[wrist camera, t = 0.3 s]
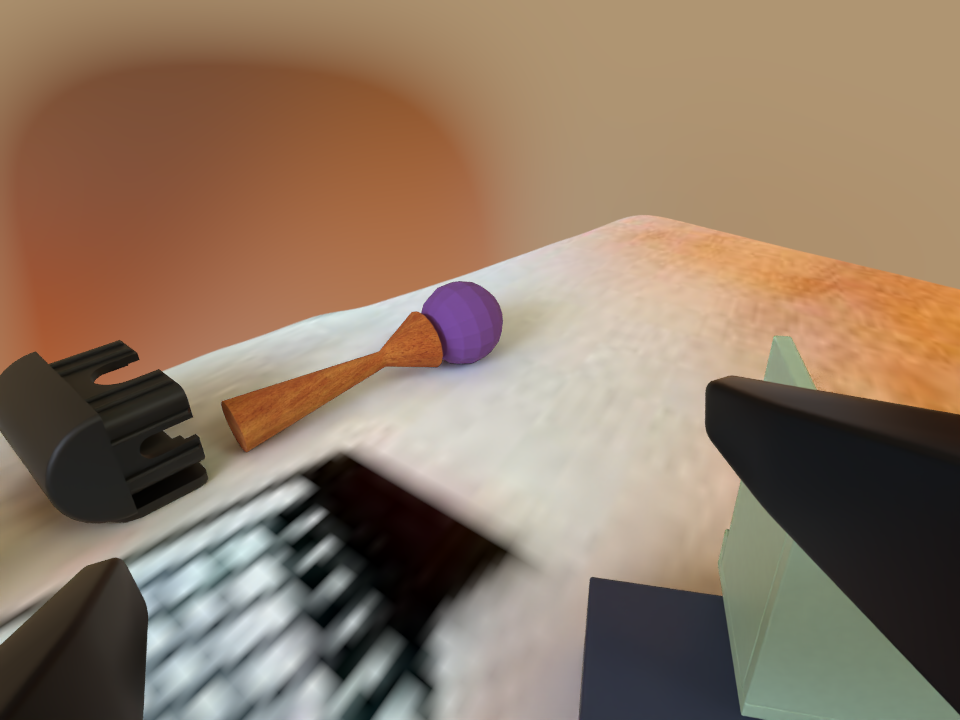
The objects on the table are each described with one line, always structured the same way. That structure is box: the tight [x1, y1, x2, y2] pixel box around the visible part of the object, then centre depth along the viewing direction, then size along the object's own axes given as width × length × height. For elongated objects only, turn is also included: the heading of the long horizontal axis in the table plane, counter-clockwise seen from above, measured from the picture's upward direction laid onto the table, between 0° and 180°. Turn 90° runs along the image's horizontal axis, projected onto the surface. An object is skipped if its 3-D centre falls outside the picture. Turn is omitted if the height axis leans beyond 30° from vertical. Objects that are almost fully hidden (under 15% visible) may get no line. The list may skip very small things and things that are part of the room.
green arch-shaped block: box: [718, 336, 960, 720], centre depth 18 cm, size 6×11×10 cm, turn 78°
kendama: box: [221, 281, 503, 452], centre depth 42 cm, size 6×6×20 cm
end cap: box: [0, 340, 208, 523], centre depth 34 cm, size 10×7×7 cm
